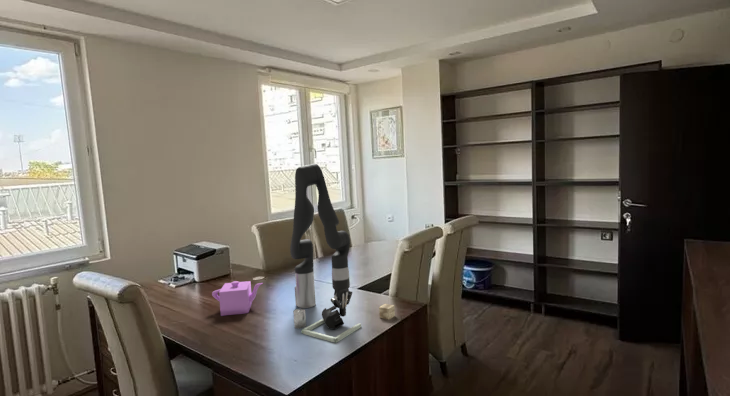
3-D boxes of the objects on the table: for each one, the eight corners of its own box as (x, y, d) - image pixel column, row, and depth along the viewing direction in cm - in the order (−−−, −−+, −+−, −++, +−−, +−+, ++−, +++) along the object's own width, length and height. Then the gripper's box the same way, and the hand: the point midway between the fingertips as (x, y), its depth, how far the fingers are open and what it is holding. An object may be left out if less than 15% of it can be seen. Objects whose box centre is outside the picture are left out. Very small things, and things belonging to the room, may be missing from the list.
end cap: (325, 324, 177) (319, 310, 176) (339, 316, 178) (333, 303, 177) (329, 332, 167) (323, 319, 166) (344, 324, 169) (338, 310, 168)
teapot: (263, 311, 195) (261, 283, 194) (210, 317, 191) (207, 288, 190) (266, 301, 210) (264, 275, 209) (216, 306, 206) (214, 279, 205)
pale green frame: (301, 333, 167) (301, 329, 167) (328, 319, 181) (328, 316, 181) (335, 342, 156) (335, 339, 156) (361, 327, 170) (361, 323, 170)
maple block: (379, 317, 180) (379, 307, 179) (385, 314, 184) (384, 303, 183) (389, 319, 177) (388, 308, 176) (394, 316, 181) (394, 305, 181)
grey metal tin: (292, 327, 174) (291, 311, 173) (300, 323, 178) (299, 308, 177) (300, 329, 171) (299, 313, 170) (308, 325, 175) (307, 309, 174)
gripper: (343, 272, 181) (345, 309, 182) (324, 280, 170) (326, 319, 171) (356, 274, 176) (358, 312, 178) (337, 282, 166) (340, 322, 167)
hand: (342, 315), depth 174 cm, fingers closed
